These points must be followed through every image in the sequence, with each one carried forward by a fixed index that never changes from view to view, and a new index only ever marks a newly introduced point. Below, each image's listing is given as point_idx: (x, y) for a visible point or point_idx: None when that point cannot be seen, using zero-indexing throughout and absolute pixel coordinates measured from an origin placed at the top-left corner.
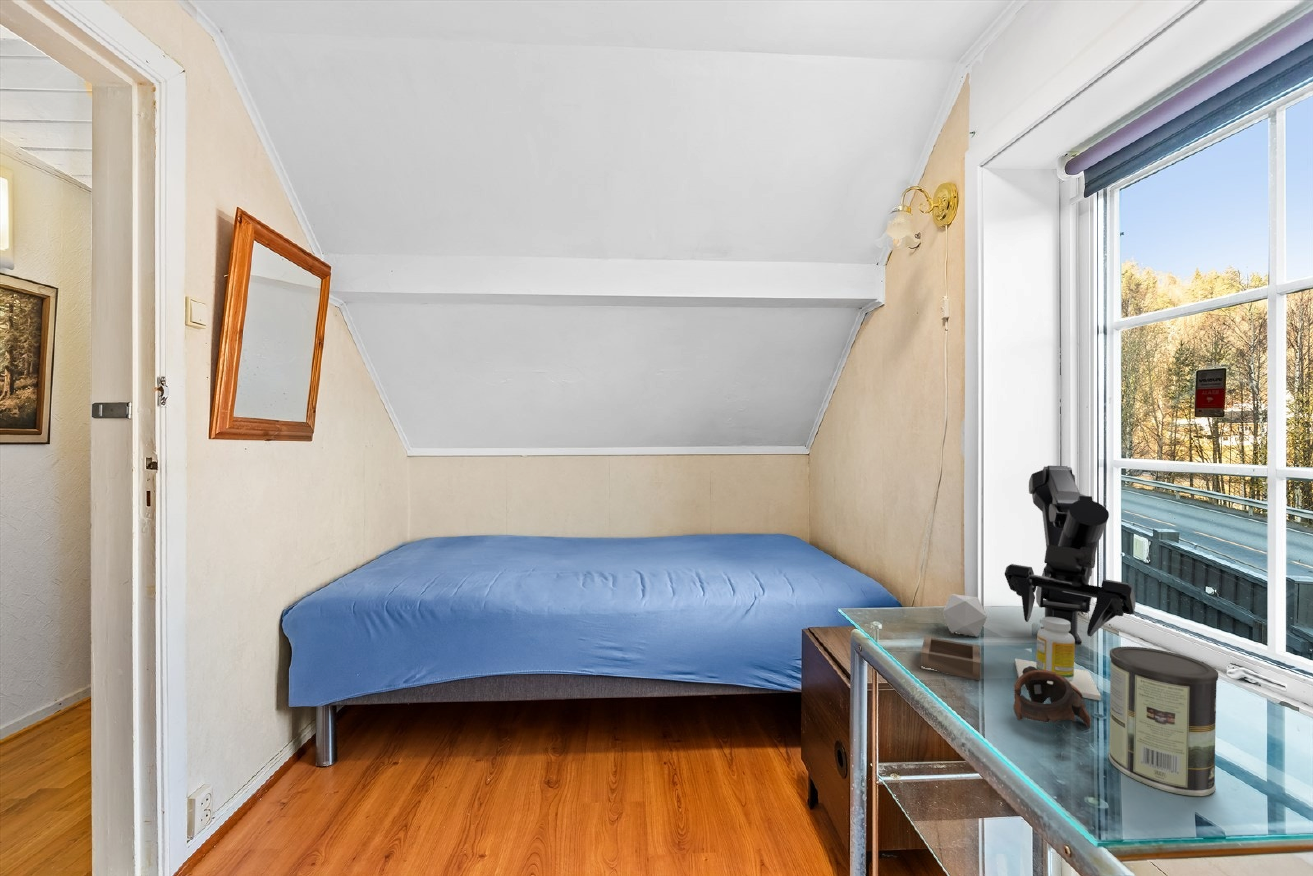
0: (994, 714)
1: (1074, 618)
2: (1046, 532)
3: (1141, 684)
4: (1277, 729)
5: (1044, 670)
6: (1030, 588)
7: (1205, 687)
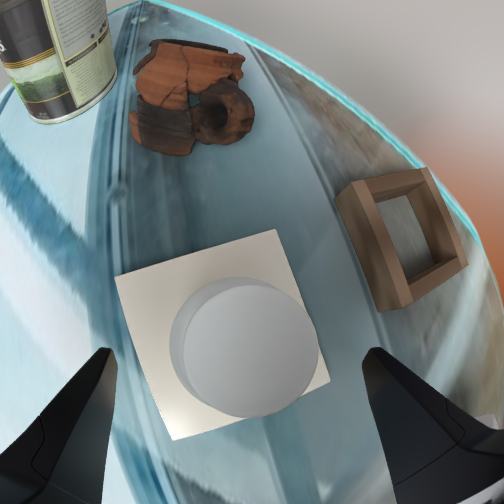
0: (258, 87)
1: None
2: None
3: None
4: None
5: (202, 50)
6: (465, 477)
7: None
